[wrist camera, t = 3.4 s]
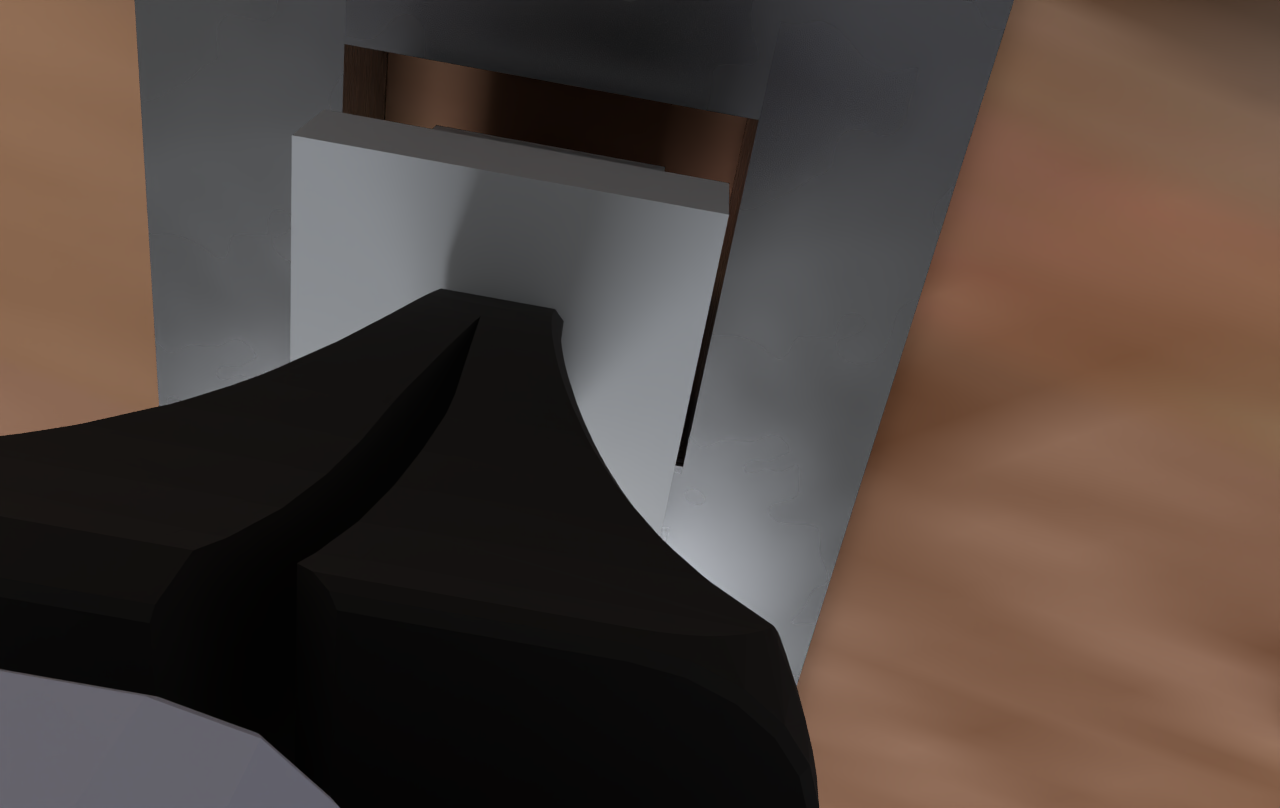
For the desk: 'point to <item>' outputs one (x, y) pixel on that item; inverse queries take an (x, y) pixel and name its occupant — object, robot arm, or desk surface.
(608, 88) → the panel
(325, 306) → the light grey block
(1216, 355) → the desk surface
